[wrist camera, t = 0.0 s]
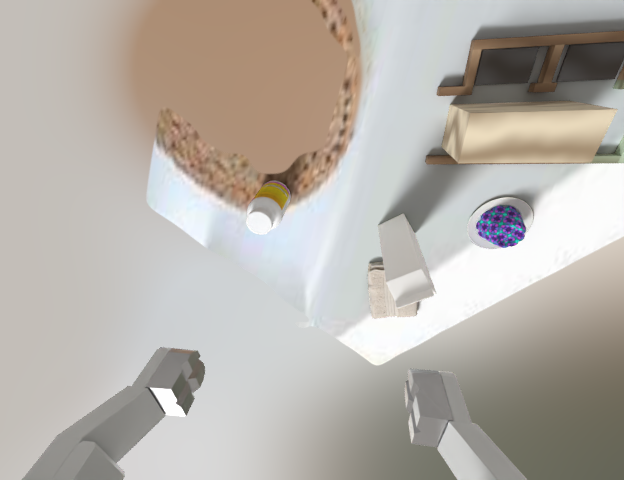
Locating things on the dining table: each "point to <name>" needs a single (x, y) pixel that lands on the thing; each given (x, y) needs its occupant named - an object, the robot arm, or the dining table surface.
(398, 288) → the milk
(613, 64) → the frame
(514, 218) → the pudding
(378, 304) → the washcloth
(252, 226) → the supplement bottle
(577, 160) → the beige rectangular block
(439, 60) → the dining table surface
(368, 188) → the dining table surface
